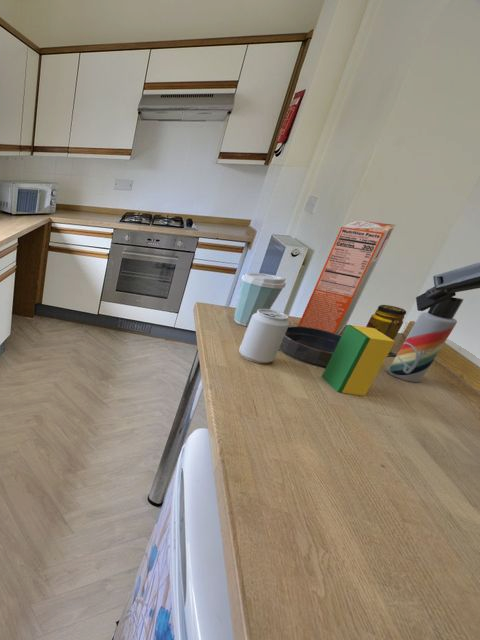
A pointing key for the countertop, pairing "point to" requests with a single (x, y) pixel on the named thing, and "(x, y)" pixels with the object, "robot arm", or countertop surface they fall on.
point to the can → (264, 335)
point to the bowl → (310, 344)
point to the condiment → (387, 321)
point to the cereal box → (345, 275)
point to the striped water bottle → (425, 341)
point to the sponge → (357, 359)
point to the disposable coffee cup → (256, 295)
